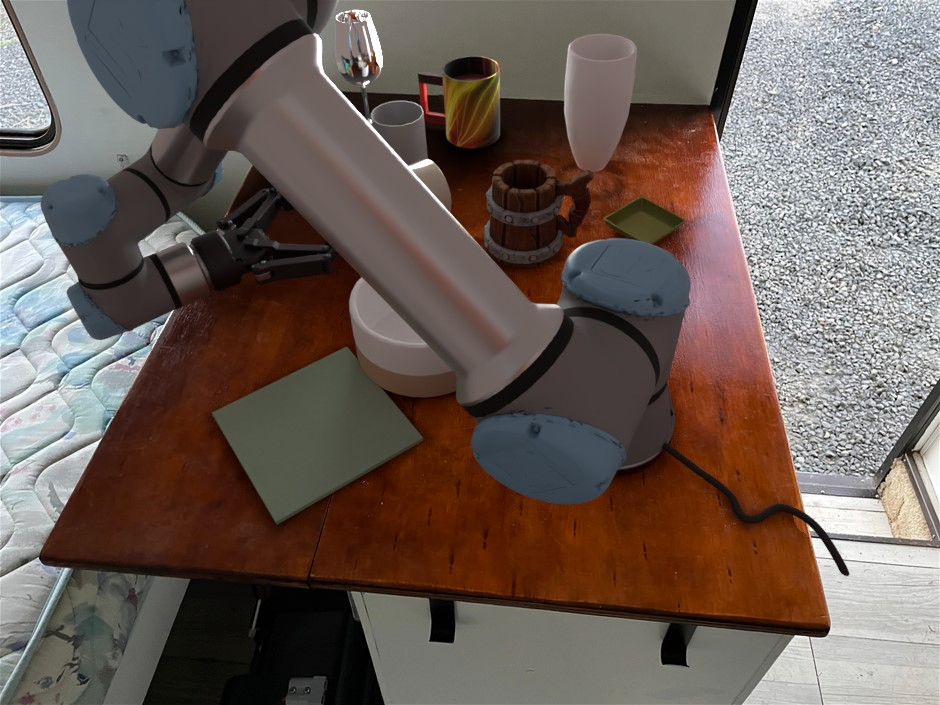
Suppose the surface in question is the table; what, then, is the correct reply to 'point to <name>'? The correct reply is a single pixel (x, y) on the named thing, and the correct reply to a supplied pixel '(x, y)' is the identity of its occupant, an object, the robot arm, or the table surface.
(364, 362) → the bowl
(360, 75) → the wineglass
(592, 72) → the cup
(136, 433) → the table surface
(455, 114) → the mug
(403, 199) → the robot arm
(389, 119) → the cup
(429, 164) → the tumbler
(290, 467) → the mat
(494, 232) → the mug
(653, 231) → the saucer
